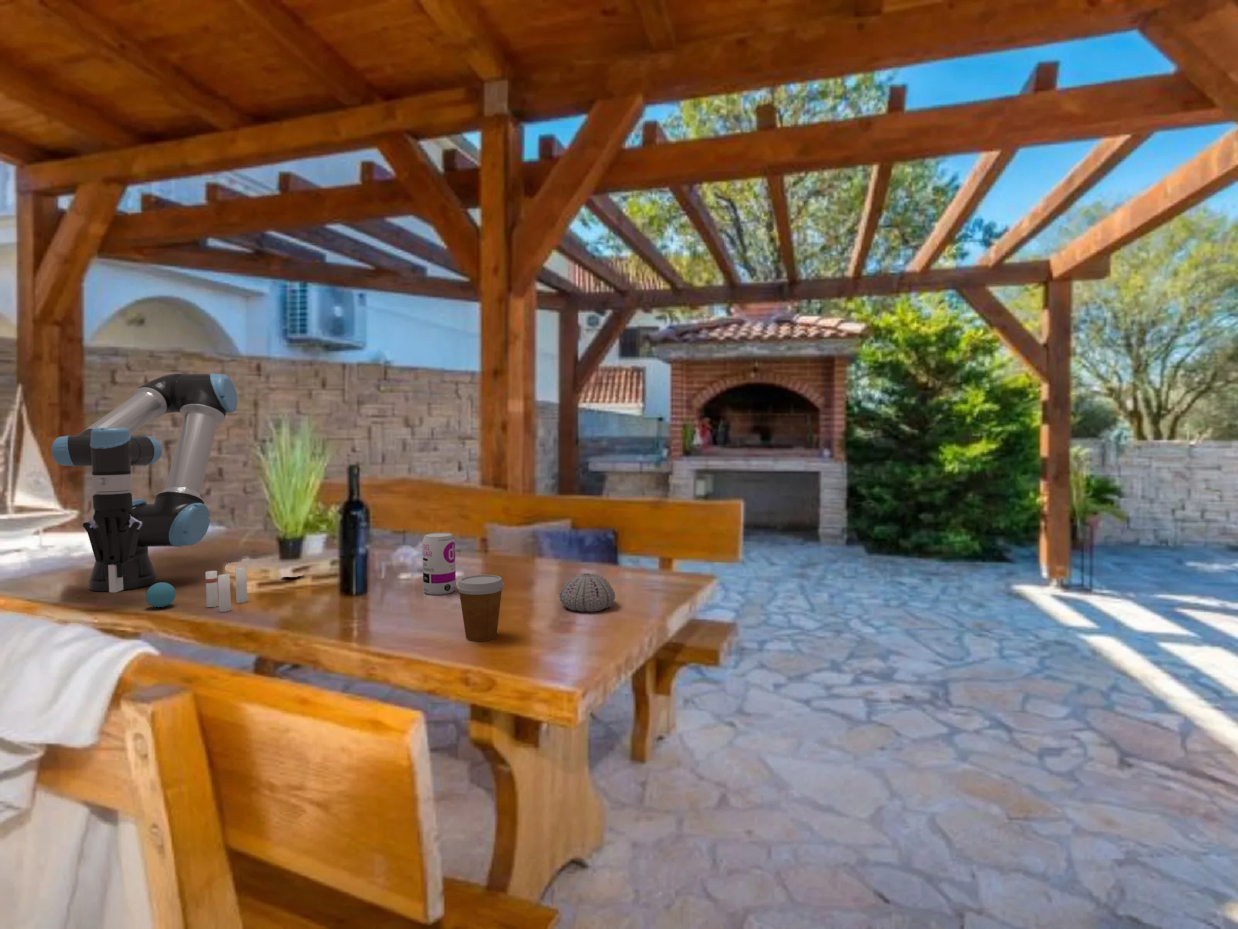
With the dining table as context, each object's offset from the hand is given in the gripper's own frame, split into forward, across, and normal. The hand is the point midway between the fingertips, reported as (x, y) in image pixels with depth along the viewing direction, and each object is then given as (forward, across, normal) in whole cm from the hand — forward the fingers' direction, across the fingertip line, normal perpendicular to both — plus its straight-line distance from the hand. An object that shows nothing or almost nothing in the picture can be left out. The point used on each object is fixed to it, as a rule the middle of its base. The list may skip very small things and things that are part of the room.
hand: (116, 590), depth 165 cm
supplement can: (+4, +74, +12) cm, 75 cm away
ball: (+1, +10, 0) cm, 10 cm away
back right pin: (+4, +27, -4) cm, 28 cm away
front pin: (+4, +22, 0) cm, 22 cm away
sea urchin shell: (+5, +112, -5) cm, 113 cm away
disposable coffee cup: (+5, +90, -27) cm, 95 cm away
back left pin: (+4, +27, +4) cm, 28 cm away
